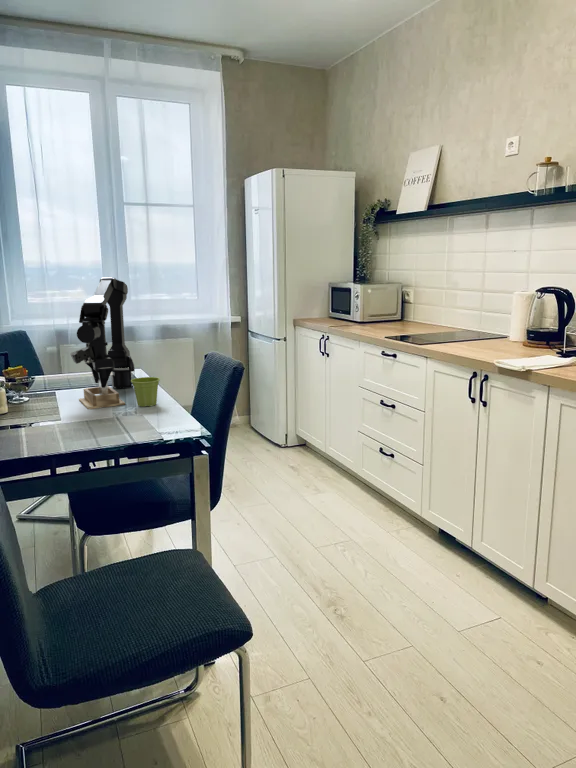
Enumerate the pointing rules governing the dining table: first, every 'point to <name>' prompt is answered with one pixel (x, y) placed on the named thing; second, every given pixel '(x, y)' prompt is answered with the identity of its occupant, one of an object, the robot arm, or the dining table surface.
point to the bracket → (102, 389)
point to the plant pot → (146, 390)
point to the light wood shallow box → (100, 398)
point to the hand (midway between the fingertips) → (100, 385)
